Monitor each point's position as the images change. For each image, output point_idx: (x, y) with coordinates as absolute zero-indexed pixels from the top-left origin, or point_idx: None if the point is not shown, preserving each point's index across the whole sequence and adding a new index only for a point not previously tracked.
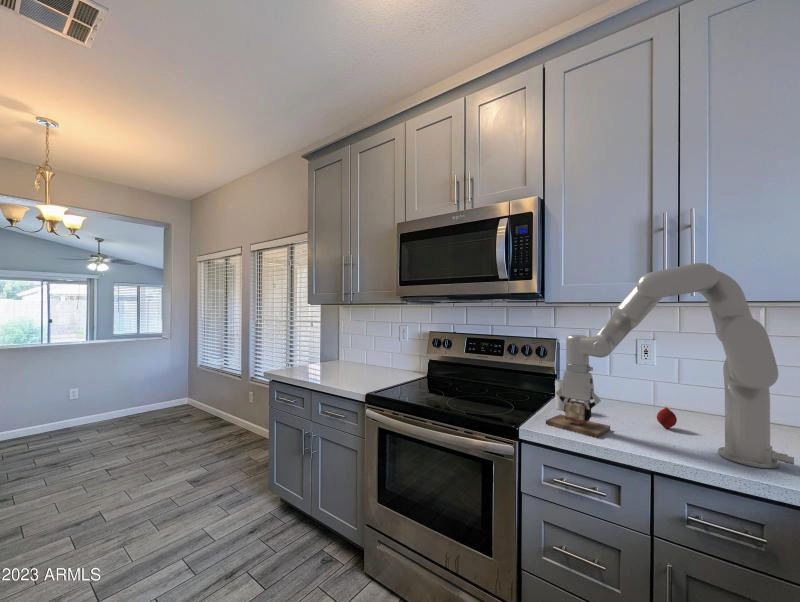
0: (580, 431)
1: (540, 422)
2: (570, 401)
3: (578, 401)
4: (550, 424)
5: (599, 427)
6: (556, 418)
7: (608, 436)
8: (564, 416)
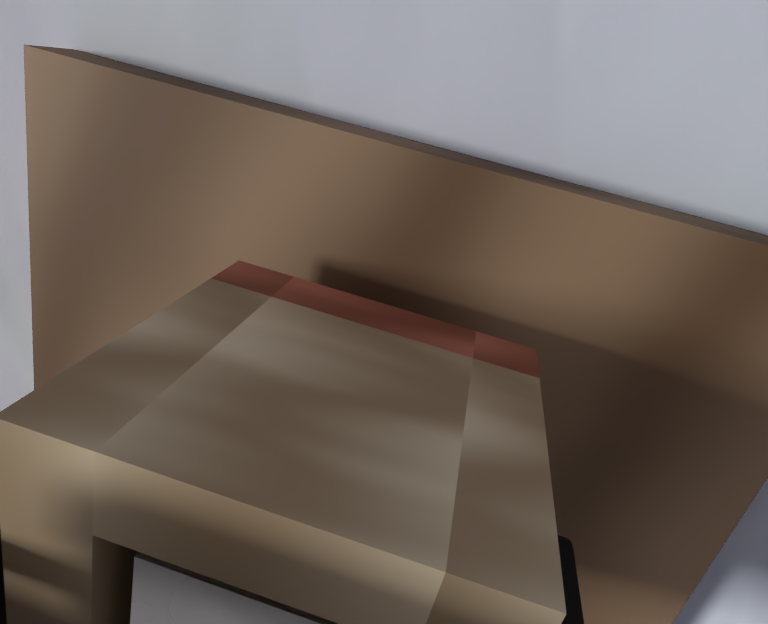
0: None
1: (3, 402)
2: (23, 582)
3: (186, 486)
4: None
5: (679, 453)
6: (84, 330)
7: (764, 535)
8: (124, 152)
